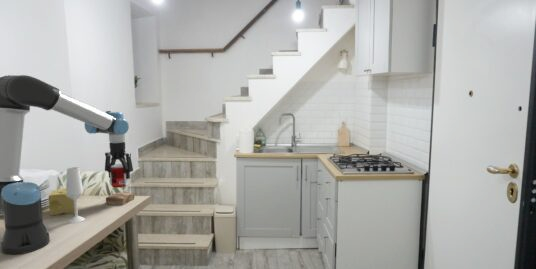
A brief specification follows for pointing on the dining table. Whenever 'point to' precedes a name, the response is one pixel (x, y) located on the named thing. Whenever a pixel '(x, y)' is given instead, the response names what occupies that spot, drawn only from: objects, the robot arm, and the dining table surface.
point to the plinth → (120, 198)
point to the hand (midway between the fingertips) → (119, 184)
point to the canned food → (117, 176)
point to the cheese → (60, 203)
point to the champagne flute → (74, 190)
